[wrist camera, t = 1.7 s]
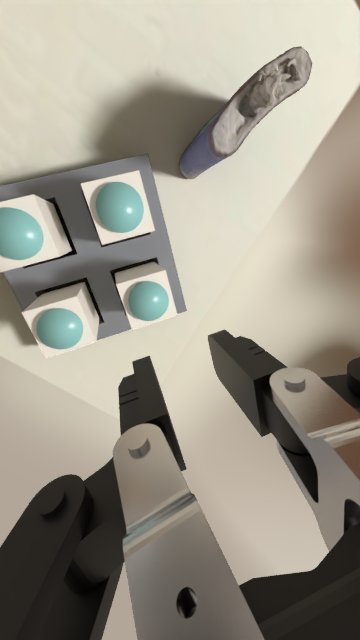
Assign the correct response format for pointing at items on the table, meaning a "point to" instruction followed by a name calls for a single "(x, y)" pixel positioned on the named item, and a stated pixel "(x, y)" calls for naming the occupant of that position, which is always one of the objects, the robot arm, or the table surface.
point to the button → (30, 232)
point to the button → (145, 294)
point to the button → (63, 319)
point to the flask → (246, 111)
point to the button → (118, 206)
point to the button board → (93, 242)
